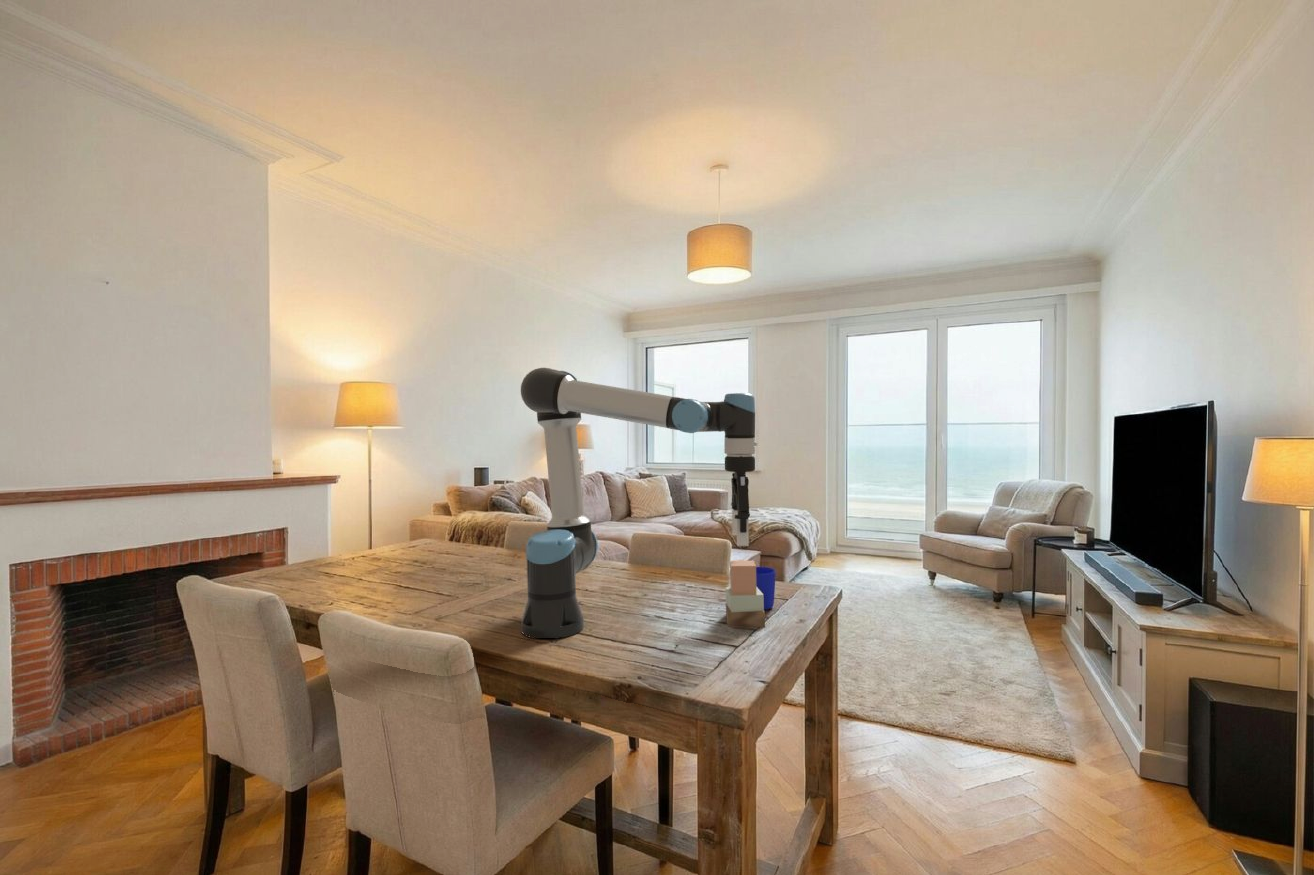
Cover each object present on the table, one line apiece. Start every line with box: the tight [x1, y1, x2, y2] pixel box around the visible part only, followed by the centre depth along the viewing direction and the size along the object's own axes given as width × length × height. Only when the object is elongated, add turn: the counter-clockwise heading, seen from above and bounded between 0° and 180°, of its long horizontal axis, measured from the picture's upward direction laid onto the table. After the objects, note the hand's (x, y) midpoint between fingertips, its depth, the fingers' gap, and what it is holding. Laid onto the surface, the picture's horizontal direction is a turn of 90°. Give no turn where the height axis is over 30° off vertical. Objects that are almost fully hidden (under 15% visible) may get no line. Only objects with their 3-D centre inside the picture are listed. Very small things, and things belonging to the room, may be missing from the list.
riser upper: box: [724, 586, 765, 612], centre depth 150 cm, size 8×8×4 cm
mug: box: [756, 566, 777, 611], centre depth 163 cm, size 8×12×10 cm
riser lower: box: [725, 603, 766, 628], centre depth 150 cm, size 9×9×4 cm
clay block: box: [729, 560, 757, 595], centre depth 150 cm, size 6×6×7 cm
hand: (740, 540), depth 150 cm, fingers open, 13 cm apart
